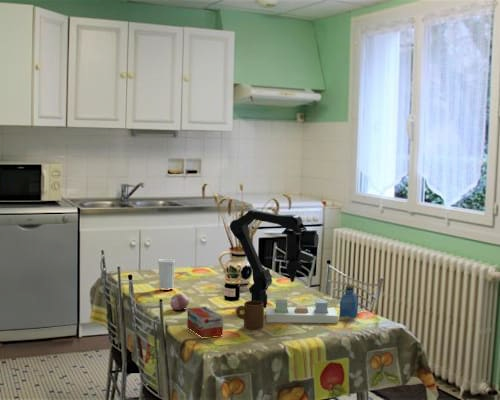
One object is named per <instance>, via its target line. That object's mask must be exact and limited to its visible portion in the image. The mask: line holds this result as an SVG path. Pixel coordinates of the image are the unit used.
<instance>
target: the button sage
mask: <svg viewBox="0 0 500 400" xmlns="http://www.w3.org/2000/svg"><path fill="white" fill-rule="evenodd" d="M275 307H276V312H287V307H288V299H275Z"/></svg>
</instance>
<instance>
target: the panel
mask: <svg viewBox="0 0 500 400" xmlns="http://www.w3.org/2000/svg"><path fill="white" fill-rule="evenodd" d="M295 311H296V306H287V312H276V306H266V307H265V312H266V313H265V314H266V323H299V324H300V323H303V324H304V323H306V324H307V323H309V324H338V323H339V315H338V312H337V310H336V308H335V307H327V313H316V311H315V306H314V307H311V306H310V307H308V306H307V313H295Z"/></svg>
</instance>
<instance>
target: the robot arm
mask: <svg viewBox="0 0 500 400" xmlns="http://www.w3.org/2000/svg"><path fill="white" fill-rule="evenodd" d="M255 220H256V221H260V222H265V223H270V224H275V225H278V226H281V227H282V228H284V230H283V231H281V235H286V237H285V238H286V240H285V241H286V246H285V251H286V252H285V255H284V262H285V263H284V265H285V268H286V271H287V274H288V277H289V279H290V282H291V283H294V282H295V279H296V274H297V271H298V270H302V269H303V265H302V262H301V261H304V262H307V263H308V264H312V262H313V260H314V254H312V253H310V252H311V251H310V250H309V249H305V250H302V249H301V245H302V246H303V247H311V248H317V247H318V245H319V242H320V240H319V238H320V237H319V235H318V230H315V229H313V230H310V229H309V230H308V229H307V227H306V226H305V224H304V223H303V219H302V217H301V216H300V215H298V214H278V213H273V212H268V211H263V210H257V209H251V210H249V211H248V212H246V213H245V214H244V215H242V216H240V217H239V218H237V219H234V220H232V221H230V224H229V229H230V231H231V233H232V235H233V236H234V237H235V238H236V239H237V240H238V241H239V243H240V245H241V247H242V250H243V252H244V255H245V256H246V259H247V261H248V265H249V266H250V269H251V272H252V281H253V284H252V285H251V286H249V287H248V290H249V293H250V294H251V295H250V296H251V298H250V299H251V300H250V301H260V302H263V304H264V308H266V307H267V306H268V294H267V291H268V289H269V288H270V286H271V285H272V283H273V279H272V278H273V275H271V272H270V269H269V268H267V269H265V268H264V267H263V265H262V263H261V260H260V258H259V255H258V253H257V251H256V248H255V247H254V243H253V242H252V239H251V237H250V227H249V225H251V224H252V223H253V222H254V221H255Z"/></svg>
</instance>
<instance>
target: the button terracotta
mask: <svg viewBox="0 0 500 400" xmlns="http://www.w3.org/2000/svg"><path fill="white" fill-rule="evenodd" d="M295 307H296V311H295V313H307V307H308V306H307V305H295Z"/></svg>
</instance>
